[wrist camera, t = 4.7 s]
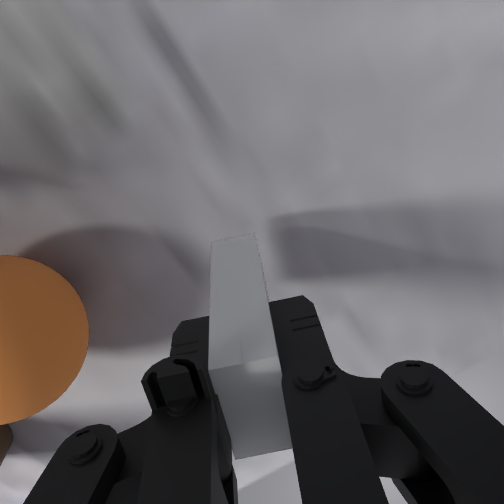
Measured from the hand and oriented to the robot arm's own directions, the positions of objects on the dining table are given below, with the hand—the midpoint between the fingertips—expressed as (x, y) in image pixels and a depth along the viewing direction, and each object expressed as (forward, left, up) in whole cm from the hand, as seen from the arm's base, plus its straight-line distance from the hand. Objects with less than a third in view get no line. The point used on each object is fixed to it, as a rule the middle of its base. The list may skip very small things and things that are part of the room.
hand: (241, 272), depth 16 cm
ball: (-8, 0, +1) cm, 8 cm away
